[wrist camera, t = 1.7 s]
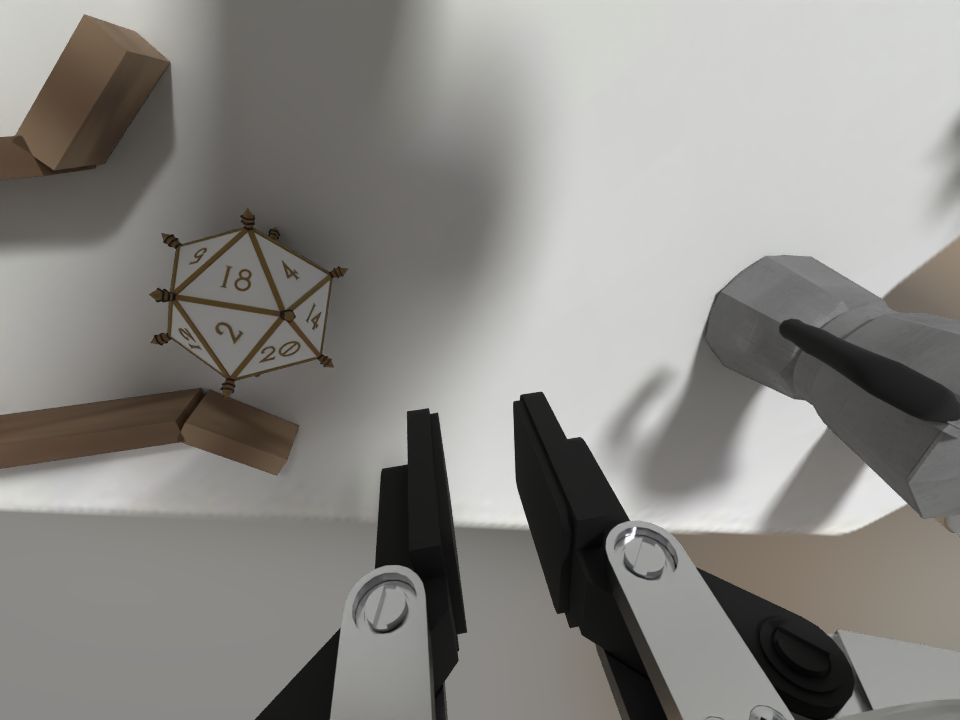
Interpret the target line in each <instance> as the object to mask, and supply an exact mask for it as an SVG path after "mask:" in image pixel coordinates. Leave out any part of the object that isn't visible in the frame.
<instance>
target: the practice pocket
mask: <svg viewBox="0 0 960 720" xmlns="http://www.w3.org/2000/svg"><path fill="white" fill-rule="evenodd" d="M169 63H170V61H168V60H167V59H166V58H165V57H164V56H163V55H162V54H160V53H159V52H158V51H157V50H156V49H155V48H154V47H153V46H151V45H150V44H149V43H148V42H147V41H146V40H145V39H143V38H142V37H141V36H140V35H139V34H138V33H137V32H135V31H132V30H129V29H126V28H123V27H120V26H117V25H114V24H111V23H109V22H106V21H103V20H100V19H97V18H94V17H91V16H88V15H85V14H84V16H83V17H82V19H81V21H80V23H79V24H78V26H77V28H76V30H75V31H74V33H73V35H72V37H71V38H70V40H69V42H68V44H67V46H66V47H65V49H64V51H63V53H62V54H61V56H60V58H59V60H58V61H57V63H56V65H55V67H54V68H53V70H52V72H51V74H50V75H49V77H48V79H47V81H46V82H45V84H44V86H43V88H42V89H41V91H40V93H39V95H38V97H37V98H36V100H35V102H34V104H33V105H32V107H31V109H30V111H29V112H28V114H27V116H26V118H25V119H24V121H23V123H22V125H21V126H20V128H19V130H18V132H17V133H16V135H15V136H11V137H0V180H1V179H13V178H25V177H37V176H47V175H54V174H60V173H67V172H74V171H80V170H87V169H94V168H96V167H95V165H97V164H104V163H105V162H106V161H107V159H108V157H109V156H110V154H111V153H112V151H113V150H114V148H115V147H116V145H117V143H118V142H119V140H120V139H121V137H122V136H123V134H124V133H125V131H126V130H127V128H128V126H129V125H130V123H131V122H132V120H133V119H134V117H135V116H136V114H137V113H138V111H139V109H140V108H141V106H142V105H143V103H144V102H145V100H146V99H147V97H148V96H149V94H150V92H151V91H152V89H153V88H154V86H155V85H156V83H157V82H158V80H159V79H160V77H161V75H162V74H163V72H164V71H165V69H166V68H167V66H168V65H169ZM298 427H299V426H298V425H296V424H293V423H291V422H288V421H286V420H283V419H281V418H279V417H276V416H274V415H271V414H269V413H266V412H264V411H261V410H259V409H256V408H254V407H251V406H249V405H246V404H244V403H241V402H239V401H236V400H234V399H231V398H229V397H227V398H226V399H225V397H224V395H222V394H219V393H217V392H214V391H212V390H209V391H208V392H207V393H206V395H205V396H204V395H203V393H202V391H201V389H200V388H199V389H191V390H184V391H177V392H169V393H162V394H154V395H147V396H139V397H132V398H125V399H117V400H110V401H102V402H95V403H88V404H80V405H73V406H65V407H58V408H51V409H43V410H36V411H28V412H21V413H13V414H6V415H0V469H1V468H8V467H15V466H22V465H29V464H36V463H42V462H49V461H56V460H63V459H70V458H77V457H83V456H90V455H97V454H104V453H111V452H117V451H124V450H131V449H138V448H145V447H152V446H158V445H165V444H172V443H179V442H182V443H185V444H188V445H190V446H193V447H196V448H199V449H202V450H205V451H208V452H211V453H213V454H216V455H219V456H222V457H225V458H228V459H231V460H234V461H236V462H239V463H242V464H245V465H248V466H251V467H254V468H257V469H259V470H262V471H265V472H268V473H271V474H274V475H278V473H279V472H280V470H281V469H282V467H283V466H284V464H285V463H286V461H287V459H288V456H289V453H290V450H291V448H292V445H293V442H294V439H295V436H296V433H297V430H298Z"/></svg>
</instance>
